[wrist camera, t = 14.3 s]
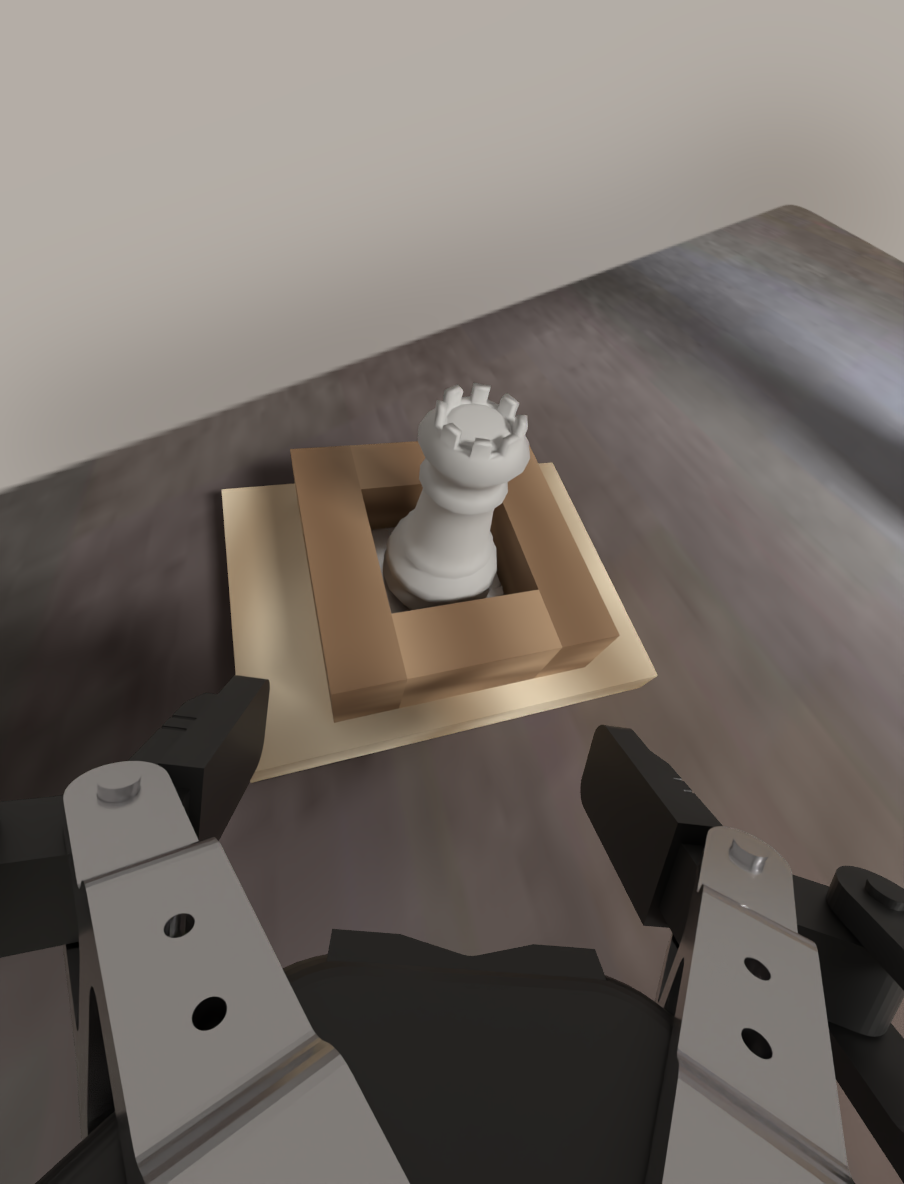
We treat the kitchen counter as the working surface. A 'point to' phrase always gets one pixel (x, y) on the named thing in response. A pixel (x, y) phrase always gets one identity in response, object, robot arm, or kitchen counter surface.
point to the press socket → (410, 612)
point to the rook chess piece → (457, 500)
